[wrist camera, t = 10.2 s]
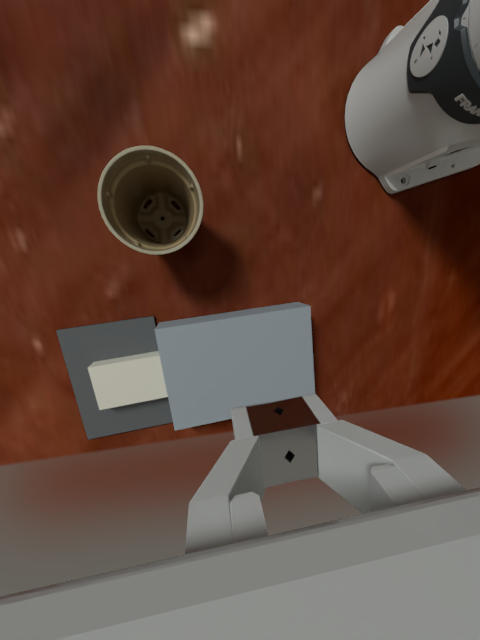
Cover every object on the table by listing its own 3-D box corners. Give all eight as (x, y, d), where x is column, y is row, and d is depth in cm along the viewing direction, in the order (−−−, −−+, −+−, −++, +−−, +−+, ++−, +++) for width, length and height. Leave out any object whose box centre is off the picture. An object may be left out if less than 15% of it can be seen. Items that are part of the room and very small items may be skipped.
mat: (153, 315, 34) (153, 316, 33) (174, 420, 37) (174, 421, 37) (57, 329, 32) (56, 330, 32) (89, 437, 36) (88, 439, 35)
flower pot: (211, 197, 32) (216, 173, 24) (188, 268, 33) (185, 268, 25) (136, 165, 30) (113, 125, 22) (115, 241, 31) (85, 232, 23)
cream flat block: (162, 350, 34) (160, 355, 33) (171, 389, 36) (169, 396, 34) (93, 361, 33) (87, 367, 31) (104, 402, 35) (99, 410, 33)
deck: (298, 301, 37) (310, 305, 33) (304, 388, 40) (315, 401, 36) (159, 322, 34) (154, 329, 30) (177, 413, 37) (174, 430, 33)
